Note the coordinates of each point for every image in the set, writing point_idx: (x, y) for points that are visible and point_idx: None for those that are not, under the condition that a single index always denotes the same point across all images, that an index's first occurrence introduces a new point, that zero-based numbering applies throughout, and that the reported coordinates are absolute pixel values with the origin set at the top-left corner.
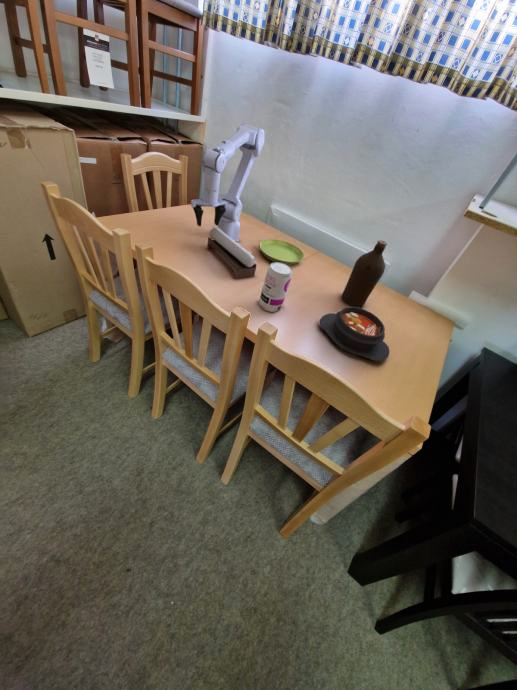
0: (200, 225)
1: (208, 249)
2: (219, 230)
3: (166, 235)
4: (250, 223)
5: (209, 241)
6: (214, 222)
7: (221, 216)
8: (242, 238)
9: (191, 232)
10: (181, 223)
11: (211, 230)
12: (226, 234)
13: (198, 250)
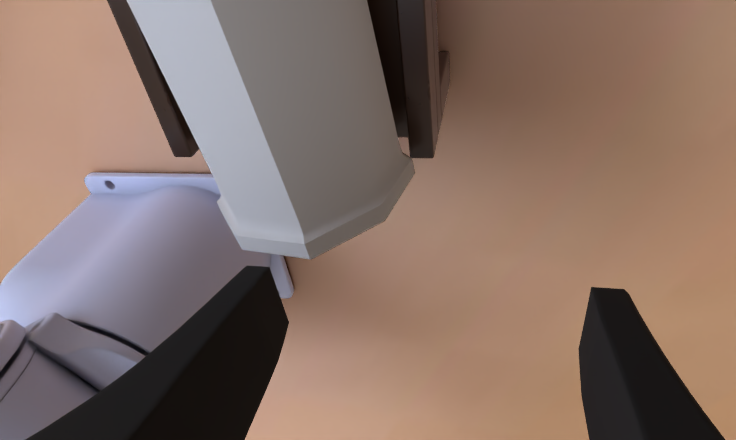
0: (605, 299)
1: (447, 55)
2: (251, 151)
3: (712, 352)
4: None
5: (436, 95)
6: (283, 334)
7: (107, 392)
8: (59, 209)
9: (459, 346)
10: (473, 434)
11: (378, 211)
12: (136, 2)
13: (571, 66)
